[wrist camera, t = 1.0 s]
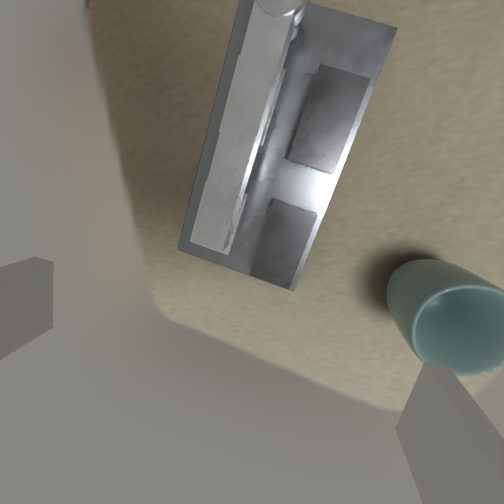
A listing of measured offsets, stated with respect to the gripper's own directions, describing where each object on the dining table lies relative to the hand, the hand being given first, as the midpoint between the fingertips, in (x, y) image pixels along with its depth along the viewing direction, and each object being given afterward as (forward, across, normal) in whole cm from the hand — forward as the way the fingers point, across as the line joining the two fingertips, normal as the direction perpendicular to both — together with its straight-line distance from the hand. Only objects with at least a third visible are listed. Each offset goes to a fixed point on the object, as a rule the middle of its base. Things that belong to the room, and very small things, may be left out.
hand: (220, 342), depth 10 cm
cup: (+23, +16, -3) cm, 28 cm away
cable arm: (+19, -4, +9) cm, 21 cm away
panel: (+23, -2, +7) cm, 24 cm away
